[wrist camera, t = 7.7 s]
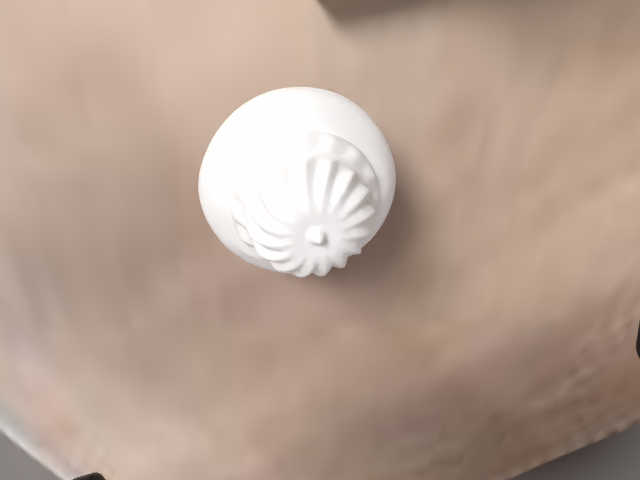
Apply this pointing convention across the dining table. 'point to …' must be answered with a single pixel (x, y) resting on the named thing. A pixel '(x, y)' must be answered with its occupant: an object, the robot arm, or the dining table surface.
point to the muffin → (297, 181)
